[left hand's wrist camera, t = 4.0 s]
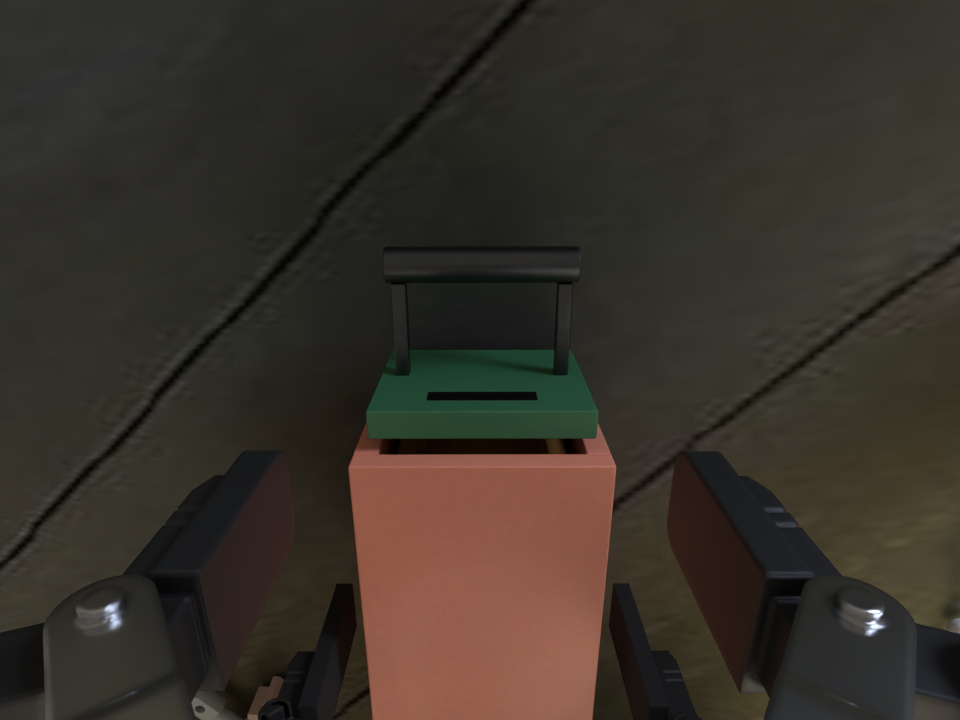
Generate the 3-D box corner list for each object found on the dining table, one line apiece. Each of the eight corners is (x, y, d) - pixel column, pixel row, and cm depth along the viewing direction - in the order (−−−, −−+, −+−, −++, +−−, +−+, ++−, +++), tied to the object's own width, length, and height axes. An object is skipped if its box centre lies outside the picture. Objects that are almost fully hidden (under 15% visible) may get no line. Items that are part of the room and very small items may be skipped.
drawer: (385, 235, 26) (353, 265, 20) (578, 235, 26) (610, 265, 20) (404, 554, 32) (385, 657, 26) (559, 554, 32) (579, 657, 26)
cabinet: (385, 375, 30) (347, 466, 21) (578, 375, 30) (617, 466, 21) (398, 585, 34) (372, 726, 26) (565, 584, 34) (592, 726, 26)
